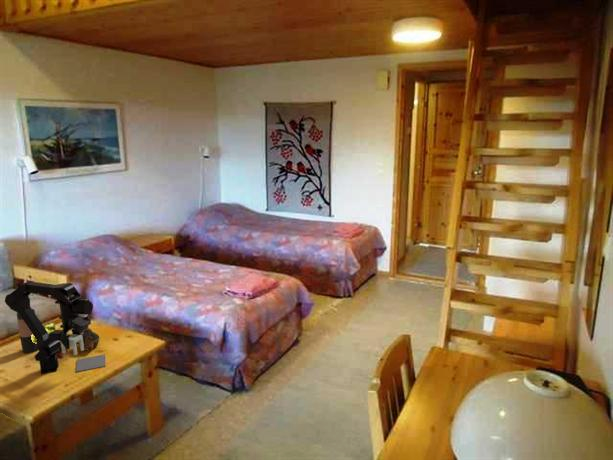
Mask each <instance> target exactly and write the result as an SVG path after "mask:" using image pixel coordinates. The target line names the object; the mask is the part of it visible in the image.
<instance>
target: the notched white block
mask: <svg viewBox="0 0 613 460" xmlns="http://www.w3.org/2000/svg"><path fill="white" fill-rule="evenodd" d="M68 335H71V336H70V338H69V349H68V350H72V351H73V355H74V356H77V355H78V347H77V344H76V342H78V343H80V345H79V348H80V352H83V351H85V350H84V344H83V336H82V335H77V334H72V333H68ZM60 343H61V354H66V353H67V351H66V350H67V349H66V348H65V346H64V345H63V344H62V342H61V341H60Z"/></svg>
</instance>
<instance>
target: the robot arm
mask: <svg viewBox="0 0 613 460" xmlns="http://www.w3.org/2000/svg"><path fill="white" fill-rule="evenodd" d="M31 294H37V295H38V294H39V295H46V296H50V297H52V298H53V299H55V301H54V304H55V305H56V304H57V305H59V311H60V315H59V316H58V319H60V320H61V324H60V325H59V328H60V329H55V330H52V331H51V332H48V331H47V329H46V327H44V325H43V323H42V322H41V320H40V319H39V317H38V316H37V315H36V312H35V313H34V311H33V310H32V309H33V308H32V307H31V298H30V297H29V295H31ZM4 303H5V304H6V306H7V307H8V308H9V309H10V310H12V311H13V312H16V313H17V312H18V313H19V314H20V316H21V317H22V319H23V320H24V322H25V323H26V325H27V326H28V328H29V329H30V331H31V332H32V334H33V335H34V336H35V338H36V339H37V348H38V351H37V353H36V354H35V355H34V360H35V361H36V362H39V365H40V366H39V368H40V373H39V374H41V375H43V374H47V373H53V372H57V371H58V368H59V367H60V364H59V357H58V356H57V354H59V352H60V350H61V349H62V347H61V342H62V344H63V345H64V346H65V349H66V350H70V349H69V338H70V336H71V335H68V334H69V332H70V331H71V334H77V335H81V332H83V331H84V330H86V329H88V327H89V326H90V325H91V324H92V319H91V316H90V314H92V312H93V310H94V304H93V302H92V301H91V300H90V299H89V298H83V296H82V294H81V293H80V292H79V291H78V289H77V287H75V285H74V284H73V283H71V282H65V283H58V284H53V283H44V282H36V281H32V280H28V281H26V282H23V283H22V284H20V285H19V286H18V287H17V288H15V289H14V290H13V291H12V292H10V293H9V294H6V296H5V298H4ZM78 314H85V315H88V316H86V317H79V315H78ZM76 345H79V344H78V342H76Z"/></svg>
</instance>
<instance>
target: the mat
mask: <svg viewBox="0 0 613 460" xmlns="http://www.w3.org/2000/svg"><path fill="white" fill-rule="evenodd" d="M105 367H107V366H106V354H105V353H103V354H98V355H93V356H88V357H82V358H78V359H76V366H75V372H76V373H80V372H85V371H89V370H90V371H91V370H93V369H94V370H95V369H98V368H99V369H100V368H105Z"/></svg>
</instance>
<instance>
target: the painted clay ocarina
mask: <svg viewBox="0 0 613 460" xmlns="http://www.w3.org/2000/svg"><path fill="white" fill-rule="evenodd" d="M82 336H83V344H84V350H83V351H85V350H86V351H92V350H93V348H97V347H98V345H99V342H100V335H98V333H96V332H94V331H93V330H92V328H88V329H86V330H84V334H82ZM77 345H79V346H80V343H78V344H77Z"/></svg>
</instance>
